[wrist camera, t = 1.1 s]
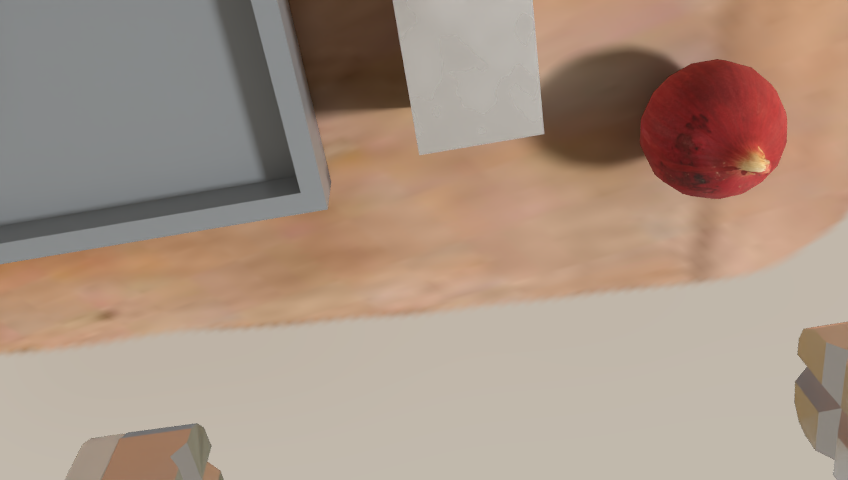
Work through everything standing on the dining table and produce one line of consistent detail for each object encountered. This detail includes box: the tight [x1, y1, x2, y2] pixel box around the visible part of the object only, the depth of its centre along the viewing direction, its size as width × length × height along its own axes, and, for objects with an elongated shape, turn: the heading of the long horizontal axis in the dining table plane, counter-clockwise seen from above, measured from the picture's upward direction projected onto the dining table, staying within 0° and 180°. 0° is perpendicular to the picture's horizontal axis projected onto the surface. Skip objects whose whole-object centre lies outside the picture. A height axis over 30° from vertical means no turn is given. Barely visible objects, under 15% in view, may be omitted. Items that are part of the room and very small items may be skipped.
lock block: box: [393, 0, 544, 155], centre depth 31 cm, size 8×5×6 cm, turn 9°
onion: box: [640, 59, 787, 199], centre depth 33 cm, size 6×6×8 cm
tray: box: [0, 0, 331, 264], centre depth 33 cm, size 14×20×3 cm
